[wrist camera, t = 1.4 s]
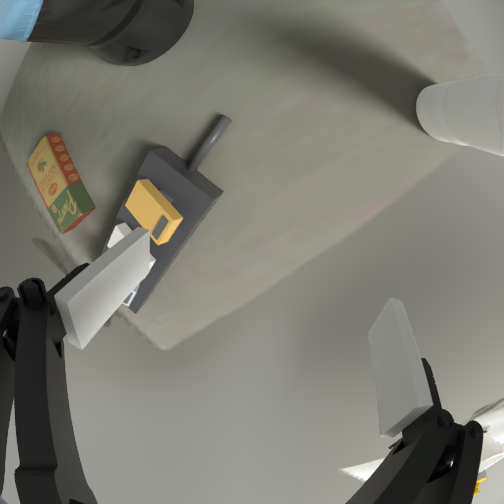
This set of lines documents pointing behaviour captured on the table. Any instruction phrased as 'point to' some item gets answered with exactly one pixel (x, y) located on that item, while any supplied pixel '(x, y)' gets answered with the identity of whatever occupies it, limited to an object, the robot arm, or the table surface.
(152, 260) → the rocker white
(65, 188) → the carton
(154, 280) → the power strip
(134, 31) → the robot arm
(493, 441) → the bowl
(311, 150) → the table surface
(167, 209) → the rocker amber
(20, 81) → the table surface
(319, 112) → the table surface
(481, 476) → the soap bottle
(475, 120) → the water bottle
